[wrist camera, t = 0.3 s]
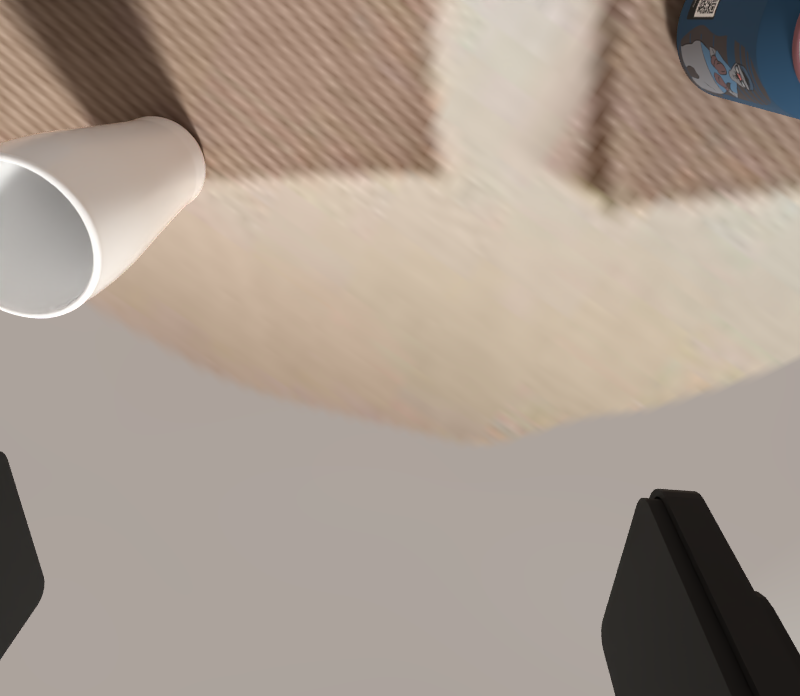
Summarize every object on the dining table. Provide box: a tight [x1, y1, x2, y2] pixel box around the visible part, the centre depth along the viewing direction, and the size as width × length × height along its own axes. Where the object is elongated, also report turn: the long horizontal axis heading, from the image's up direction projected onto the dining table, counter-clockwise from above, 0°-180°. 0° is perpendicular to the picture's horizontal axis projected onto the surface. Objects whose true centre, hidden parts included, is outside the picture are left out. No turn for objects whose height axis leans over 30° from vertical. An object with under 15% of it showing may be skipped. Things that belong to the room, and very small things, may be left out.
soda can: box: [677, 0, 800, 119], centre depth 27 cm, size 7×7×12 cm
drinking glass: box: [0, 116, 206, 318], centre depth 30 cm, size 7×7×15 cm
